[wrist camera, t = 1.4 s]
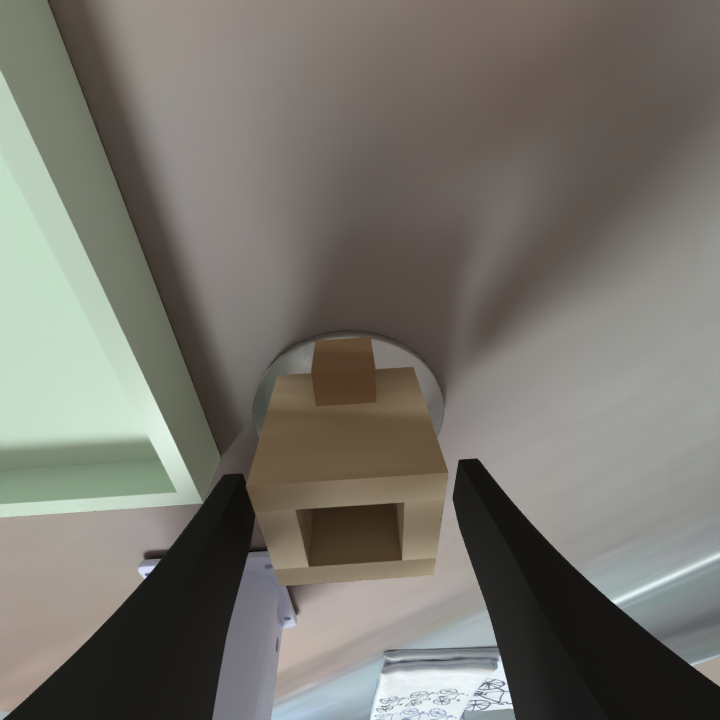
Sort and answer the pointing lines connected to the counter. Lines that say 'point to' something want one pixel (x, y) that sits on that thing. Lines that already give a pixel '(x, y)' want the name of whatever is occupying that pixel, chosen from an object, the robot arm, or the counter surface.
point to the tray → (80, 309)
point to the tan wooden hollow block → (348, 471)
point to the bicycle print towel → (439, 684)
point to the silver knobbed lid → (385, 356)
